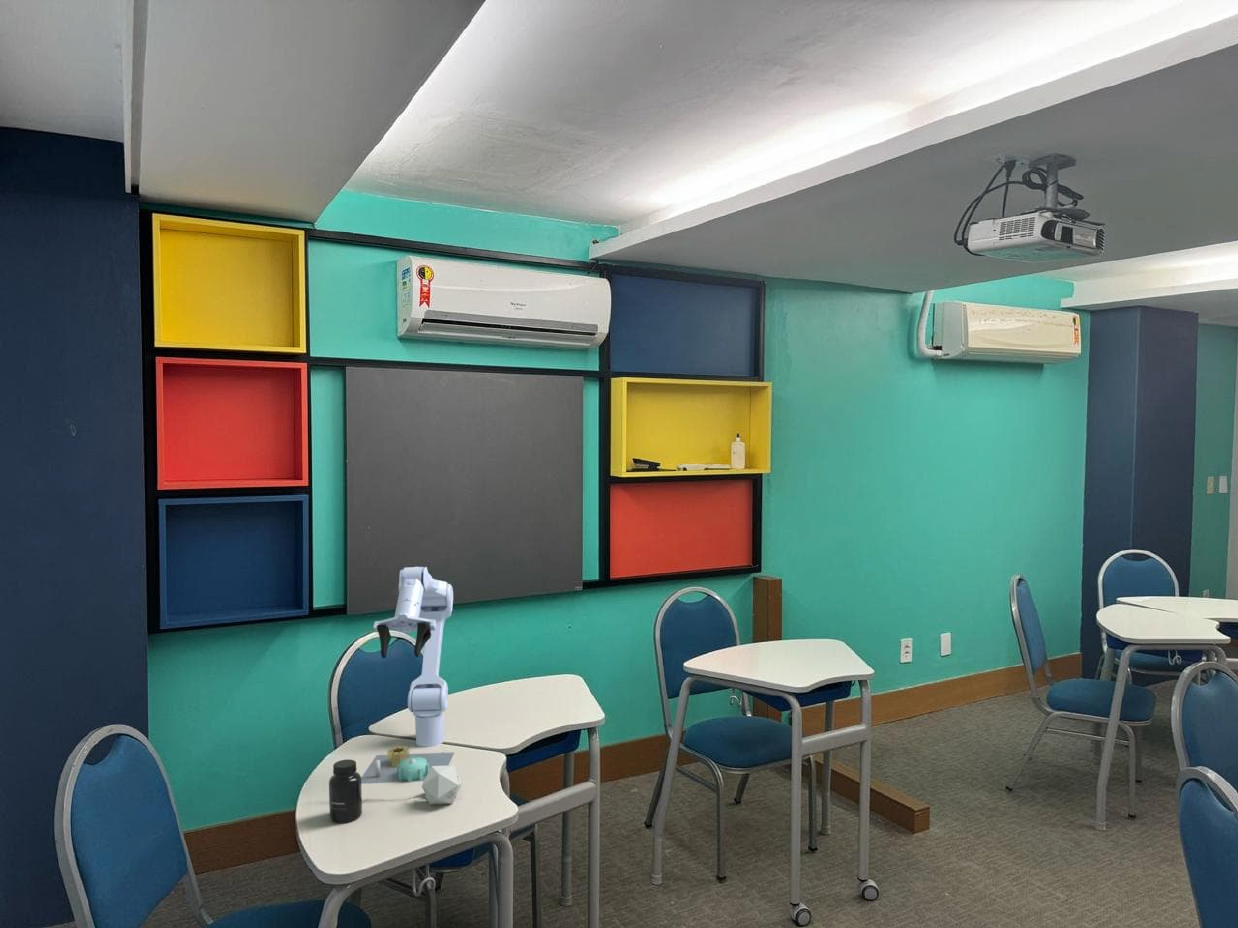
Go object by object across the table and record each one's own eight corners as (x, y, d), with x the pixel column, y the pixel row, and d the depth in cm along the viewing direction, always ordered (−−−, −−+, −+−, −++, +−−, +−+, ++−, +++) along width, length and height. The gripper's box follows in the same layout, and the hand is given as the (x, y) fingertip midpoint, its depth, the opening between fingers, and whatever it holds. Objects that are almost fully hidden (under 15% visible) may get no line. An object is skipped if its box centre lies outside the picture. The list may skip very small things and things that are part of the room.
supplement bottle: (331, 826, 179) (328, 771, 178) (328, 813, 185) (326, 760, 185) (364, 819, 182) (362, 765, 181) (360, 807, 188) (358, 754, 187)
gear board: (377, 758, 215) (376, 740, 215) (454, 756, 216) (453, 737, 216) (357, 787, 198) (356, 767, 198) (441, 784, 199) (440, 764, 198)
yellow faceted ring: (391, 759, 212) (390, 746, 212) (410, 758, 213) (410, 746, 212) (386, 767, 207) (385, 754, 207) (406, 766, 208) (405, 753, 207)
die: (442, 816, 184) (466, 775, 186) (410, 795, 185) (434, 755, 188) (449, 813, 192) (472, 774, 194) (418, 793, 193) (441, 754, 195)
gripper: (375, 598, 201) (364, 646, 192) (435, 596, 202) (427, 644, 192) (381, 616, 206) (371, 663, 196) (440, 614, 207) (432, 661, 197)
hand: (399, 655), depth 194 cm, fingers open, 7 cm apart
